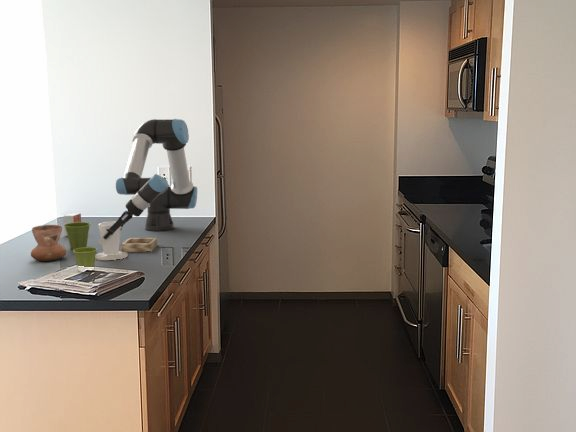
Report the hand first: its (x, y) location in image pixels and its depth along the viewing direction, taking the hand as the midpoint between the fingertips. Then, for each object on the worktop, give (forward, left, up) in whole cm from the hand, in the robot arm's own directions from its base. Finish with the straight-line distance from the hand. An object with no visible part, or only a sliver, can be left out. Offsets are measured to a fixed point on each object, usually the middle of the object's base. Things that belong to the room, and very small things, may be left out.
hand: (103, 240), depth 292 cm
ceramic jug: (+21, -9, -7) cm, 25 cm away
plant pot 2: (+12, +20, -7) cm, 24 cm away
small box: (0, -58, -7) cm, 59 cm away
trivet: (-3, +2, -7) cm, 8 cm away
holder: (-19, -8, -7) cm, 22 cm away
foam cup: (-3, +2, -6) cm, 6 cm away
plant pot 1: (+5, -24, -7) cm, 26 cm away
